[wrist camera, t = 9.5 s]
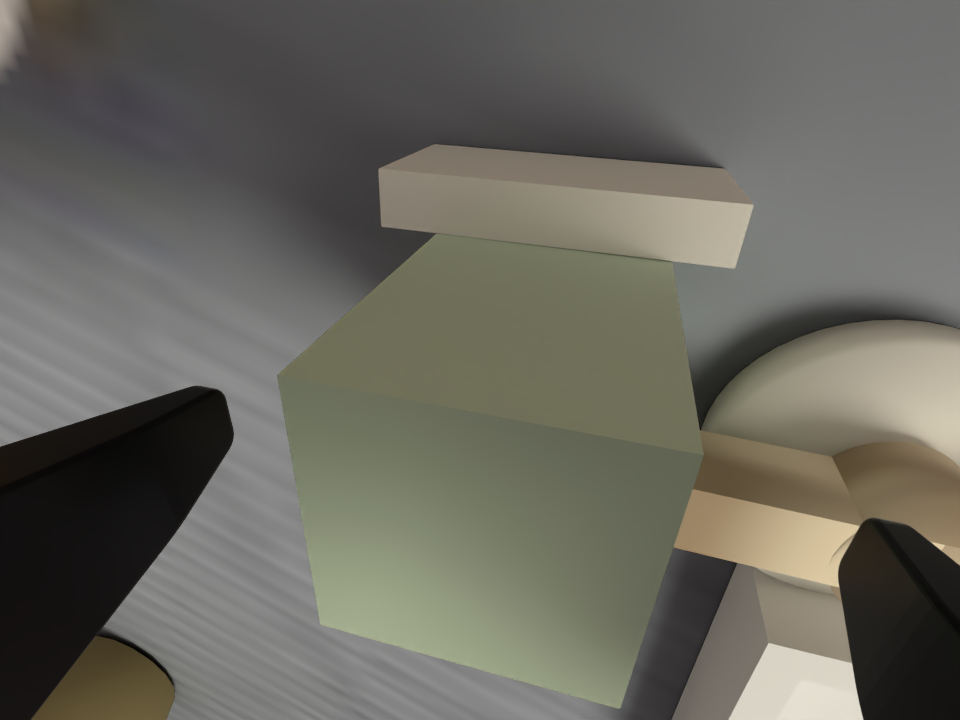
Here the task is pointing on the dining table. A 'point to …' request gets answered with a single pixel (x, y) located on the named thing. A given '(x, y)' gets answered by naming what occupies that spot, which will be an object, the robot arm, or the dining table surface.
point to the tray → (772, 656)
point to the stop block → (499, 459)
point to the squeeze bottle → (110, 687)
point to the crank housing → (706, 241)
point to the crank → (814, 502)
